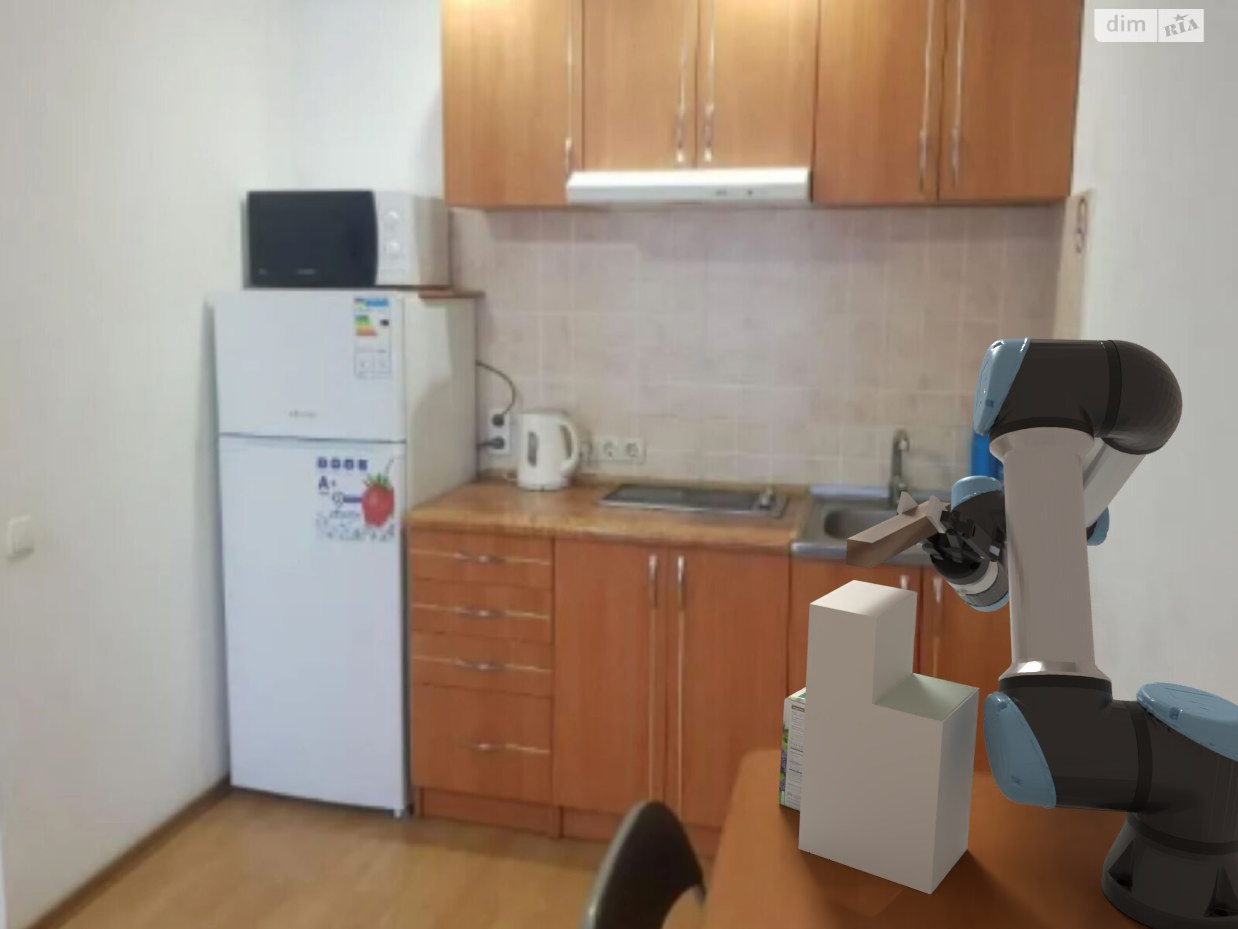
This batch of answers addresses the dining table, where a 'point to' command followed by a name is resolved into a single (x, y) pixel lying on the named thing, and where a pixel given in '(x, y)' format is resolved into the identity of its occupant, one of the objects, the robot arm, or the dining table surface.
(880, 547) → the walnut bar
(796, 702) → the syrup box
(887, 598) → the step stand
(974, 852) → the dining table surface
